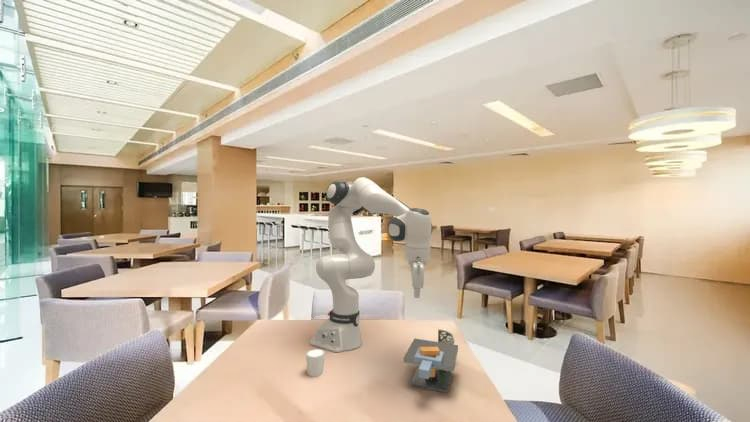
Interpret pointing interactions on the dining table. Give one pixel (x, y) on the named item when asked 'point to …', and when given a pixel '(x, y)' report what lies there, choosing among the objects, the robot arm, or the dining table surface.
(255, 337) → the dining table surface
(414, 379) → the metal plate
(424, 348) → the orange t-shaped block
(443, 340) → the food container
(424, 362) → the bracket
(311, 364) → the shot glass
